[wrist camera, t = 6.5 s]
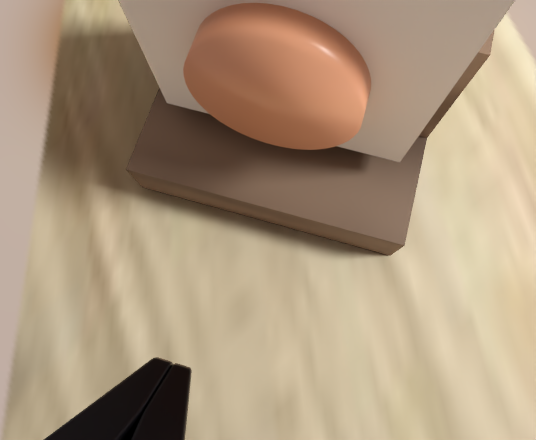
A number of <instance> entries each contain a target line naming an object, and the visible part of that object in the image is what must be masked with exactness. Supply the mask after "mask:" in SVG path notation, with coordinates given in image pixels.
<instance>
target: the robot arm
mask: <svg viewBox="0 0 536 440" xmlns="http://www.w3.org/2000/svg"><path fill="white" fill-rule="evenodd" d="M190 381H191V368H190V367H187V366H184V365H180V364H176V363H175V364H173V363H172V362H171V361H168V360H165V359H161V358H158V357H156V358H153V359H151V360H150V361H149V362H147V363H146V364H145V365H143V366H142V367H141V368H139V369H138V370H137V371H135V372H134V373H133V374H131V375H130V376H129V377H127V378H126V379H125V380H123V381H122V382H121V383H119V384H118V385H117V386H115V387H114V388H113V389H111V390H110V391H108V392H107V393H106V394H104V395H103V396H102V397H100V398H99V399H98V400H96V401H95V402H94V403H92V404H91V405H90V406H88V407H87V408H86V409H84V410H83V411H82V412H80V413H79V414H78V415H76V416H75V417H74V418H72V419H71V420H70V421H68V422H67V423H66V424H64V425H63V426H62V427H60V428H59V429H57V430H56V431H55V432H53V433H52V434H51V435H49V436H48V437H47V438H45V439H44V440H185V431H186V421H187V411H188V401H189V391H190Z"/></svg>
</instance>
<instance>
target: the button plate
mask: <svg viewBox="0 0 536 440" xmlns="http://www.w3.org/2000/svg"><path fill="white" fill-rule="evenodd" d="M118 1H119V3H120V5H121V7H122V9H123V11H124V14H125V16H126V18H127V20H128V22H129V24H130V26H131V28H132V30H133V33H134V35H135V37H136V39H137V41H138V43H139V45H140V47H141V49H142V52H143V54H144V56H145V58H146V60H147V62H148V64H149V66H150V69H151V71H152V73H153V75H154V77H155V79H156V81H157V83H158V85H159V88H160V90H161V92H162V94H163V96H164V98H165V100H166V102H167V103H169V104H173V105H176V106H180V107H184V108H188V109H192V110H196V111H200V112H204V113H208V114H210V115H212V116H213V117H214V118H216V119H217V120H218V121H220V122H221V123H223V124H225V125H226V126H228V127H230V128H231V129H233V130H235V131H237V132H239V133H241V134H243V135H246V136H248V137H250V138H253V139H256V140H258V141H261V142H264V143H268V144H271V145H275V146H280V147H285V148H291V149H301V150H318V149H326V148H331V147H335V146H338V147H341V148H345V149H349V150H353V151H357V152H361V153H365V154H369V155H373V156H377V157H381V158H385V159H389V160H393V161H396V162H400V161H401V160H402V159H403V157H404V156H405V154H406V153H407V152H408V150H409V149H410V147H411V146H412V145H413V143H414V142H415V140H416V139H417V138H418V136H419V135H420V133H421V132H422V130H423V129H424V128H425V126H426V125H427V123H428V122H429V121H430V119H431V118H432V116H433V115H434V114H435V112H436V111H437V109H438V108H439V107H440V105H441V104H442V102H443V101H444V100H445V98H446V97H447V95H448V94H449V93H450V91H451V90H452V88H453V87H454V86H455V84H456V83H457V81H458V80H459V78H460V77H461V76H462V74H463V73H464V71H465V70H466V69H467V67H468V66H469V64H470V63H471V62H472V60H473V59H474V57H475V56H476V55H477V53H478V52H479V50H480V49H481V48H482V46H483V45H484V43H485V42H486V41H487V39H488V38H489V36H490V35H491V34H492V32H493V31H494V29H495V28H496V26H497V25H498V24H499V22H500V21H501V19H502V18H503V17H504V15H505V14H506V12H507V11H508V10H509V8H510V6H511V5H512V4H513V3H514V1H515V0H118Z"/></svg>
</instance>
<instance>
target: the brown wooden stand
mask: <svg viewBox="0 0 536 440" xmlns="http://www.w3.org/2000/svg"><path fill="white" fill-rule="evenodd" d="M493 35H494V31H493V32H492V34H491V35H490V36H489V38H488V39H487V41H486V42H485V43H484V45H483V46H482V48H481V49H480V50H479V52H478V53H477V55H476V56H475V57H474V59H473V60H472V62H471V63H470V64H469V66H468V67H467V69H466V70H465V71H464V73H463V74H462V76H461V77H460V78H459V80H458V81H457V83H456V84H455V86H454V87H453V88H452V90H451V91H450V93H449V94H448V95H447V97H446V98H445V100H444V101H443V102H442V104H441V105H440V107H439V108H438V109H437V111H436V112H435V114H434V115H433V116H432V118H431V119H430V121H429V122H428V123H427V125H426V126H425V128H424V129H423V130H422V132H421V133H420V135H419V136H418V138H417V139H416V140H415V142H414V143H413V145H412V146H411V147H410V149H409V150H408V152H407V153H406V154H405V156H404V157H403V159H402V160H401V161H400V162H396V161H393V160H389V159H385V158H381V157H377V156H373V155H369V154H365V153H361V152H357V151H353V150H349V149H345V148H341V147H338V146H335V147H331V148H326V149H318V150H301V149H291V148H285V147H280V146H275V145H271V144H268V143H264V142H261V141H258V140H256V139H253V138H250V137H248V136H246V135H243V134H241V133H239V132H237V131H235V130H233V129H231V128H230V127H228V126H226V125H225V124H223V123H221V122H220V121H218V120H217V119H216V118H214V117H213V116H212V115H210V114H208V113H204V112H200V111H196V110H192V109H188V108H184V107H180V106H176V105H173V104H169V103H167V102H166V100H165V98H164V96H163V94H162V92H161V90H160V88H159V90H158V93H157V95H156V97H155V100H154V102H153V105H152V107H151V110H150V112H149V114H148V117H147V119H146V122H145V124H144V127H143V129H142V132H141V134H140V136H139V139H138V141H137V144H136V146H135V149H134V151H133V153H132V156H131V158H130V161H129V163H128V166H127V168H126V170H127V171H128V172H129V173H130V174H131V175H132V177H133V178H134V179H135V180H136V181H137V182H138V183H139V184H140V185H141V186H142V187H144V188H147V189H151V190H155V191H158V192H162V193H165V194H169V195H173V196H176V197H180V198H184V199H187V200H191V201H194V202H198V203H202V204H205V205H209V206H212V207H216V208H220V209H223V210H227V211H231V212H234V213H238V214H241V215H245V216H249V217H252V218H256V219H259V220H263V221H267V222H270V223H274V224H278V225H281V226H285V227H288V228H292V229H296V230H299V231H303V232H306V233H310V234H314V235H317V236H321V237H325V238H328V239H332V240H335V241H339V242H343V243H346V244H350V245H353V246H357V247H361V248H364V249H368V250H371V251H375V252H379V253H382V254H386V255H392V254H393V253H394V252H396V251H397V250H399V249H400V248H401V247H403V246H404V245H405V240H406V235H407V230H408V226H409V221H410V216H411V211H412V207H413V202H414V197H415V192H416V188H417V183H418V178H419V173H420V168H421V164H422V159H423V154H424V149H425V145H426V140H427V137H428V136H429V134H430V133H431V132H432V131H433V129H434V128H435V127H436V125H437V124H438V123H439V121H440V120H441V119H442V117H443V116H444V115H445V113H446V112H447V111H448V109H449V108H450V107H451V106H452V104H453V103H454V102H455V100H456V99H457V98H458V96H459V95H460V94H461V92H462V91H463V90H464V88H465V87H466V86H467V84H468V83H469V82H470V81H471V79H472V78H473V77H474V75H475V74H476V73H477V71H478V70H479V69H480V67H481V66H482V65H483V63H484V62H485V61H486V60H487V58H488V57H489V56H490V52H491V46H492V41H493Z"/></svg>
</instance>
